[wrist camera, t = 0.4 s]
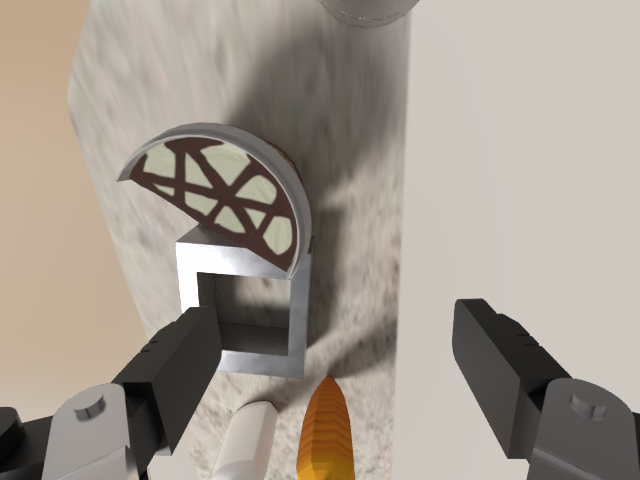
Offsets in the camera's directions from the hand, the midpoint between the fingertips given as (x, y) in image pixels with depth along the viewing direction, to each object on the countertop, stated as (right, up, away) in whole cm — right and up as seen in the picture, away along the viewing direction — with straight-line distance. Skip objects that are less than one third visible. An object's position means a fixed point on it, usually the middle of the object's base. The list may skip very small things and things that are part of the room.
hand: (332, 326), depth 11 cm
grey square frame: (-7, -2, +21) cm, 22 cm away
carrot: (+1, -12, +24) cm, 27 cm away
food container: (-5, +9, +16) cm, 20 cm away
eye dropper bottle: (-8, -18, +27) cm, 33 cm away
